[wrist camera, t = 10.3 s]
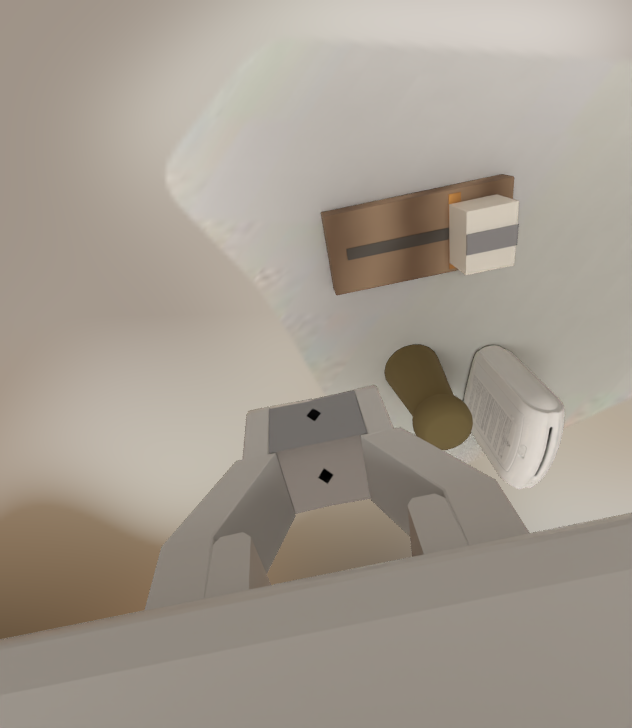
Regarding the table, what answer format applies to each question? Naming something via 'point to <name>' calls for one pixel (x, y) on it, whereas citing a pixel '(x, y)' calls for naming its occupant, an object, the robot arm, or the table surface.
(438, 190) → the slider board
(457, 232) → the fader tab
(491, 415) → the photo printer
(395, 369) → the cork
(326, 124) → the table surface
